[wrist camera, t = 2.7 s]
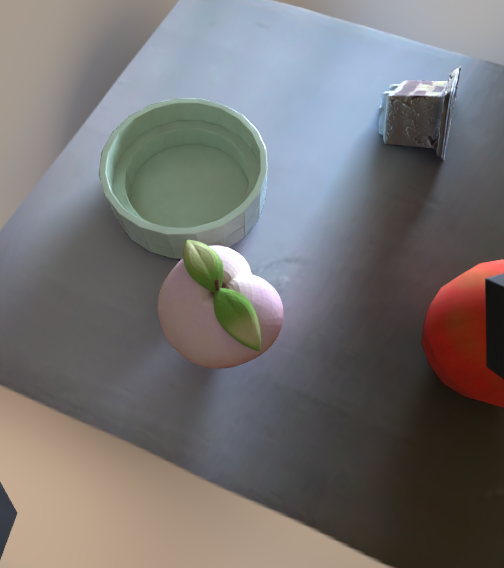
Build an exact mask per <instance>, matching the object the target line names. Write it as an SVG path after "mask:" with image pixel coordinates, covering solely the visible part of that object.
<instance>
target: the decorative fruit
mask: <svg viewBox="0 0 504 568" xmlns="http://www.w3.org/2000/svg"><path fill="white" fill-rule="evenodd" d="M158 315H159V320H160V324H161V327H162V329H163V332H164V334H165V336H166V338H167V340H168V341H169V342H170V343H171V345H172V346H173V347H174V348H175V349H176V351H177V352H178V353H180V354H181V355H182V356H183V357H184V358H186V359H187V360H189V361H191V362H193V363H195V364H197V365H201V366H204V367H208V368H229V367H234V366H237V365H240V364H243V363H246V362H248V361H250V360H252V359H254V358H256V357H258V356H259V355H261V354H262V353H264V352H265V351H266V350H268V348H269V347H270V346H271V345H272V344H273V343H274V341H275V340H276V338H277V336H278V334H279V332H280V329H281V326H282V322H283V305H282V302H281V299H280V297H279V295H278V293H277V291H276V290H275V289H274V288H273V287H272V286H271V285H270V284H269V283H268V282H266V281H265V280H264V279H262V278H260V277H258V276H254V275H252V274H251V270H250V267H249V265H248V263H247V262H246V260H245V259H244V258H243V257H242V256H241V255H240V254H239V253H238V252H236V251H234V250H232V249H230V248H227V247H223V246H218V245H217V246H207V245H206V244H204V243H201V242H198V241H194V240H186V243H185V245H184V248H183V259H181V260H180V261H179V262H178V264H177V265H176V266H175V267H174V268H173V269H172V271H171V272H170V274H169V275H168V276H167V278H166V279H165V281H164V283H163V284H162V287H161V290H160V292H159V297H158Z"/></svg>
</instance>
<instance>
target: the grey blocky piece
mask: <svg viewBox="0 0 504 568" xmlns="http://www.w3.org/2000/svg"><path fill="white" fill-rule="evenodd" d="M460 70H461V66H460V67H459V68H457V69H456V70H454V71H453V72H452V73H451V74H450V77H451V79H448V81H438V82H436V81H434V82H432V81H417V80H407V81H403V82H402V83H401V84H397V85H396V84H395V85H391V86H390V87H389V89H390V91H387V92H383V93H382V94H381V98H382V104H381V106H380V107H379V119H378V126H379V132H380V133H381V134H383V138H384V143H385V144H390V145H403V146H417V147H424V148H434V149H435V150H436V151H437V152H436V155H437V156H438V157H440V158H442V159H443V160H444V161H445V154H446V149H445V148H446V146H447V141H448V135H449V131H450V126H451V122H452V119H451V118H452V113H453V112H452V111H453V109H454V104H455V99H456V92H457V88H458V87H457V85H458V81H459V76H460V75H459V74H460Z"/></svg>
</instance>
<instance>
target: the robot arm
mask: <svg viewBox="0 0 504 568" xmlns="http://www.w3.org/2000/svg"><path fill="white" fill-rule="evenodd" d="M485 303H486V367H487V368H488V369H490V370H491V371H493V372H494V373H495V374H497V375H498V376H499V377H501V378H502V379H504V273H503V274H499V275H496V276H492V277H489V278H485ZM16 515H17V512H16V510H15V508H14V506H13V504H12V502H11V501H10V499H9V497H8V495H7V493H6V492H5V490H4V488H3V486H2V484H1V483H0V559H1V556H2V553H3V551H4V548H5V545H6V543H7V540H8V537H9V534H10V531H11V529H12V526H13V524H14V521H15V518H16Z"/></svg>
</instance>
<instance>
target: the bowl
mask: <svg viewBox="0 0 504 568" xmlns="http://www.w3.org/2000/svg"><path fill="white" fill-rule="evenodd" d="M267 171H268V170H267V151H266V148H265V145H264V143H263V141H262V139H261V137H260V134H259V132H258V131H257V129H256V128H255V127H254V126H253V125H252V124H251V123H250V122H249V121H248V120H247V119H246V118H245V117H244V116H243V115H242V114H240V113H238V112H236V111H234V110H232V109H231V108H229V107H227V106H225V105H223V104H220V103H216V102H212V101H208V100H203V99H198V98H195V99H171V100H167V101H163V102H159V103H155V104H152V105H149V106H147V107H145V108H143V109H142V110H140V111H138V112H136V113H134V114H132V115H130V116H129V117H128V118H127V119H126V120H125V121H124V122H122V123H121V124H120V125H119V126H118V127H117V128H116V129H115V130H114V131H113V133H112V134H111V136H110V138H109V139H108V141H107V143H106V145H105V147H104V149H103V151H102V153H101V161H100V168H99V176H100V180H101V184H102V188H103V191H104V195H105V197H106V199H107V201H108V203H109V205H110V206H111V208H112V210H113V212H114V214H115V216H116V218H117V220H118V222H119V223H120V225H121V226H122V227H123V229H124V230H125V231H126V233H127V234H128V235H129V237H130V238H131V239H132V240H133V241H135V242H136V243H138V244H139V245H141V246H142V247H144V248H145V249H147V250H148V251H150V252H152V253H156V254H160V255H163V256H167V257H171V258H175V259H183V248H184V245H185V243H186V240H194V241H198V242H201V243H204V244H206V245H207V246H217V245H218V246H223V247H227V248H230V247H231V246H233V245H234V244H236V243H237V242H239V241H240V240H242V239H243V238H244V237H246V235H247V234H248V233H249V232H250V230H251V229H252V228H253V227H254V225H255V224H256V223H257V222H258V220H259V218H260V215H261V212H262V209H263V206H264V203H265V199H266V185H267Z"/></svg>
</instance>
